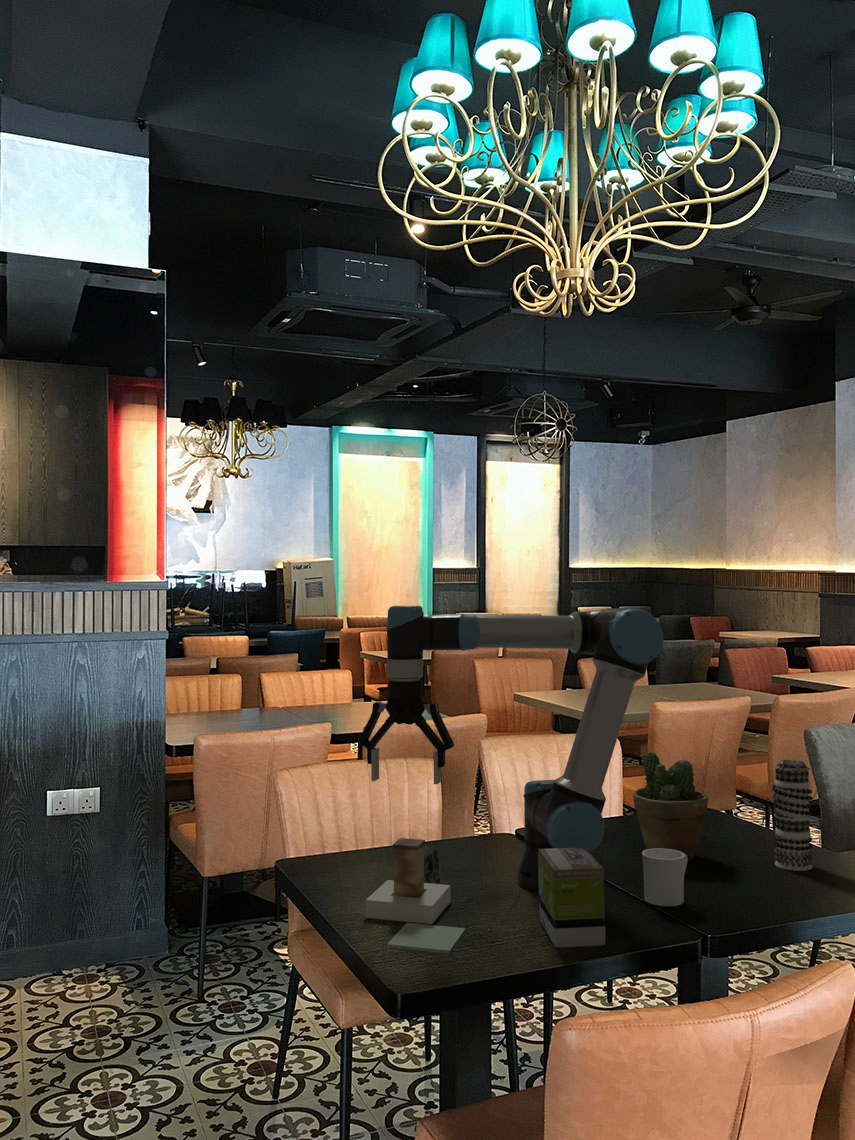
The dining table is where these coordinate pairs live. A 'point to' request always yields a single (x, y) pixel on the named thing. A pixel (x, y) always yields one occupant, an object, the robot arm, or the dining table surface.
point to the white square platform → (408, 904)
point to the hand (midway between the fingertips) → (406, 781)
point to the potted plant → (670, 806)
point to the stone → (432, 866)
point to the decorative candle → (792, 816)
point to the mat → (426, 938)
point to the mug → (664, 877)
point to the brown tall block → (409, 867)
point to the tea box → (571, 897)
